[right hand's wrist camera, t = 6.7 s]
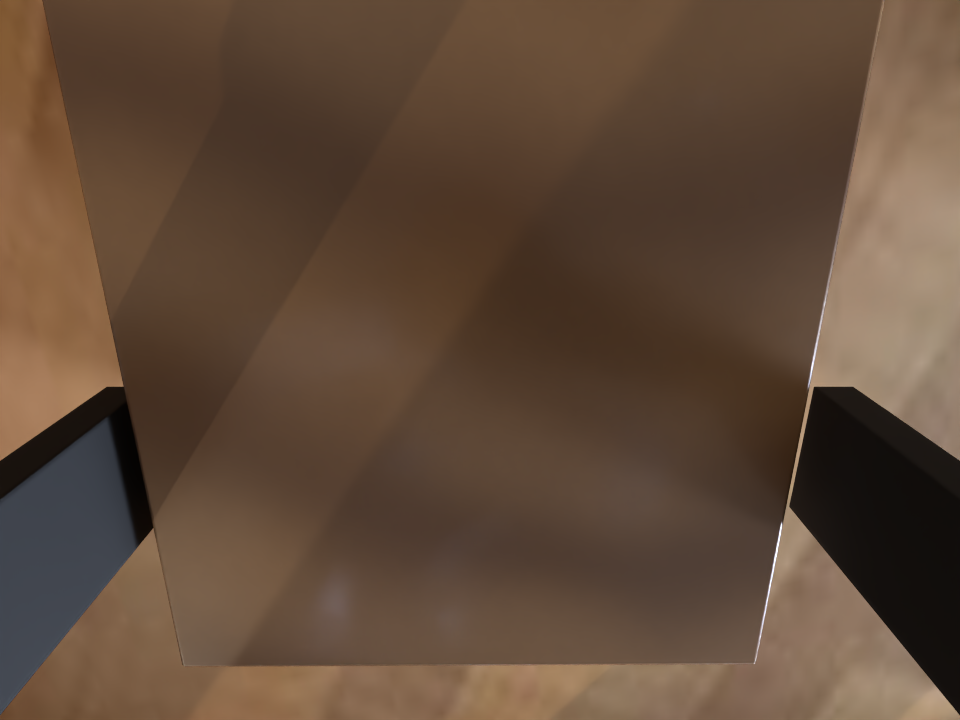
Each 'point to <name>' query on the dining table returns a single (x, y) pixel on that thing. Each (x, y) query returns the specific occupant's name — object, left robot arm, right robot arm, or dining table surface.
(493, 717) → the dining table surface
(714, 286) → the cabinet
